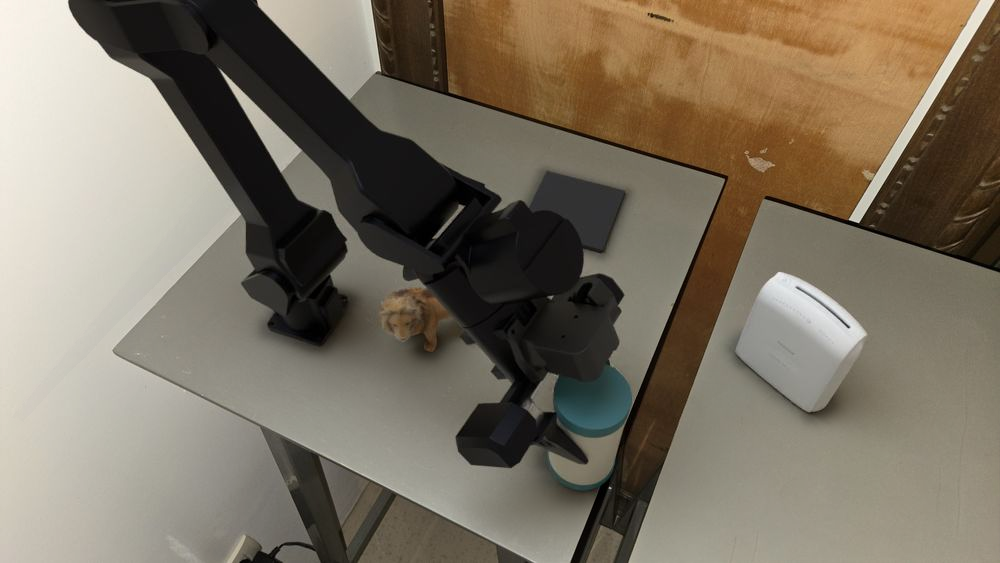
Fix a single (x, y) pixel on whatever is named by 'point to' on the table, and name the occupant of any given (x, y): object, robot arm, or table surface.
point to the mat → (580, 206)
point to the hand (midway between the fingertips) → (601, 433)
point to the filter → (590, 426)
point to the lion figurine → (412, 315)
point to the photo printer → (800, 341)
